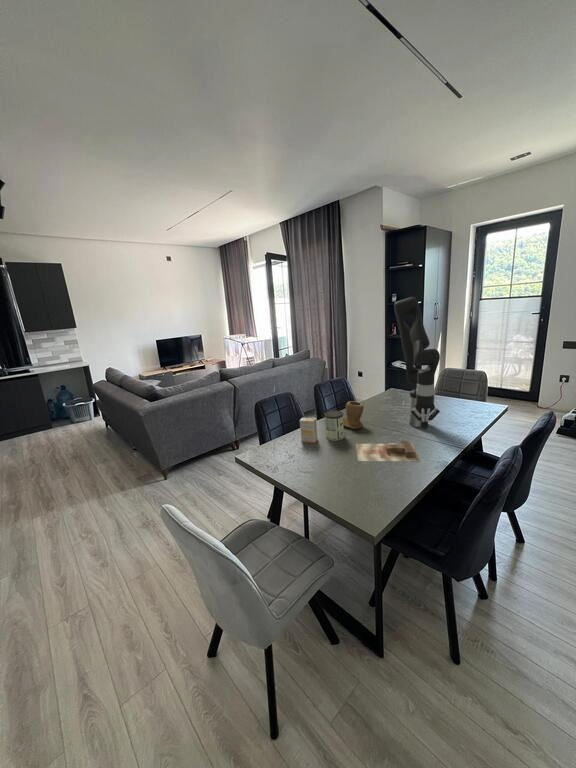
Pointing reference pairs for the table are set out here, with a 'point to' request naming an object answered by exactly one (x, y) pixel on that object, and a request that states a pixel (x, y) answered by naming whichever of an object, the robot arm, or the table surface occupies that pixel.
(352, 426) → the terracotta vase
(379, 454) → the board
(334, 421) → the coffee can
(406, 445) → the t block
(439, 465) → the table surface
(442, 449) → the table surface
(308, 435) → the supplement box
